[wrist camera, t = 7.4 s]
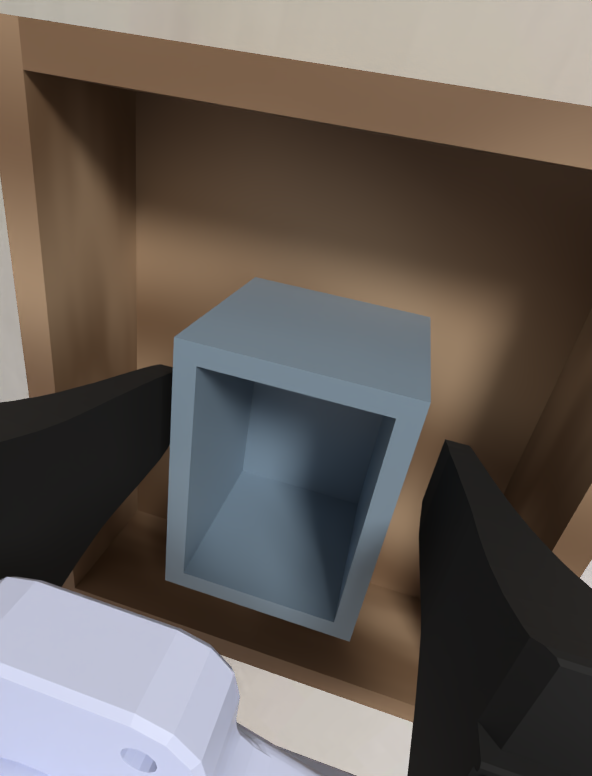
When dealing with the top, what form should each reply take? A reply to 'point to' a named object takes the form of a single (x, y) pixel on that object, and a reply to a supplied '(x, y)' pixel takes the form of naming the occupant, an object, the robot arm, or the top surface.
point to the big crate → (304, 284)
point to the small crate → (292, 448)
